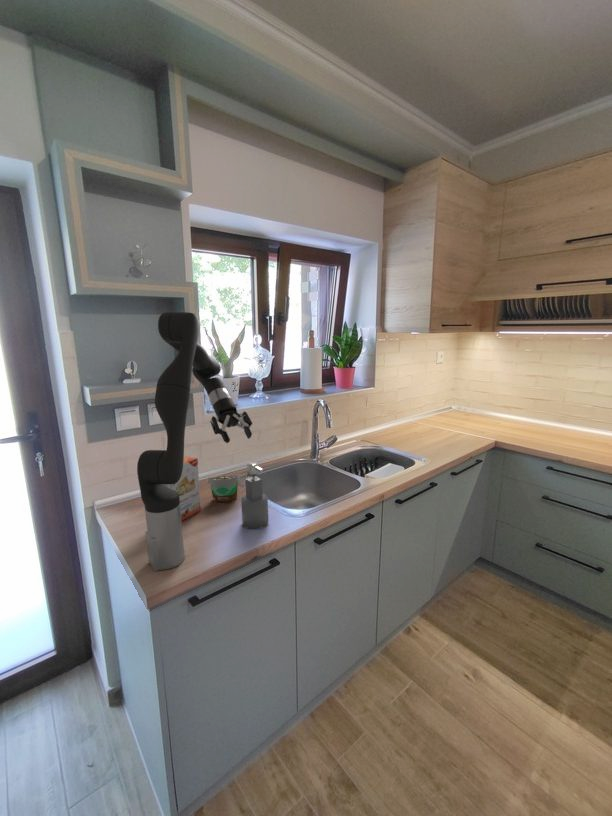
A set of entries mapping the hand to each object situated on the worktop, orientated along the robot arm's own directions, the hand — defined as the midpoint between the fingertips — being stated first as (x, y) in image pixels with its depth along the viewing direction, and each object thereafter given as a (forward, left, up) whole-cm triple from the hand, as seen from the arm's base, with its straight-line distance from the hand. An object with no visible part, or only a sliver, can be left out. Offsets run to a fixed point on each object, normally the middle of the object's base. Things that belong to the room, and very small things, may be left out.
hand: (239, 439), depth 128 cm
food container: (0, +14, -28) cm, 31 cm away
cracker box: (-18, +13, -28) cm, 36 cm away
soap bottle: (0, -8, -28) cm, 29 cm away
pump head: (0, -10, -19) cm, 22 cm away
